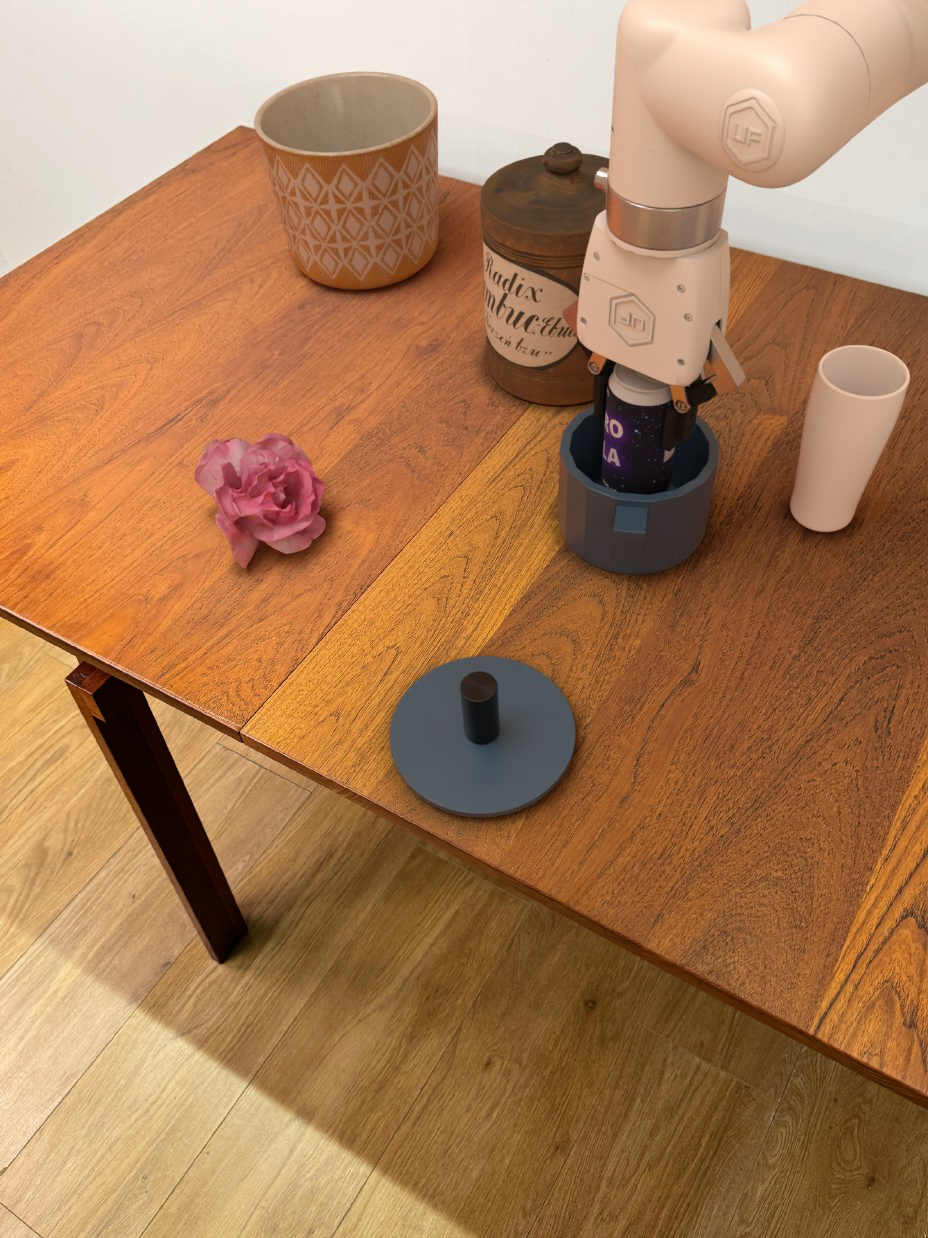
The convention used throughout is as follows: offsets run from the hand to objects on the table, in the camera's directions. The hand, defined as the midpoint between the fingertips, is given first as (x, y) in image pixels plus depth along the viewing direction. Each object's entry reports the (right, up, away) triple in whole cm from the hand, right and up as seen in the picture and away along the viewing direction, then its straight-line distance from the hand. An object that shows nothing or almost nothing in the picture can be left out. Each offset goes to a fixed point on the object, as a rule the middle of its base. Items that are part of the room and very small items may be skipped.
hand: (641, 423), depth 79 cm
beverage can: (0, -5, +5) cm, 7 cm away
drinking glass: (+17, -6, +8) cm, 20 cm away
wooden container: (-4, +11, +24) cm, 26 cm away
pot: (+1, -7, +8) cm, 11 cm away
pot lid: (-13, -24, -5) cm, 28 cm away
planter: (-25, +27, +39) cm, 54 cm away
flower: (-31, -8, +10) cm, 33 cm away
